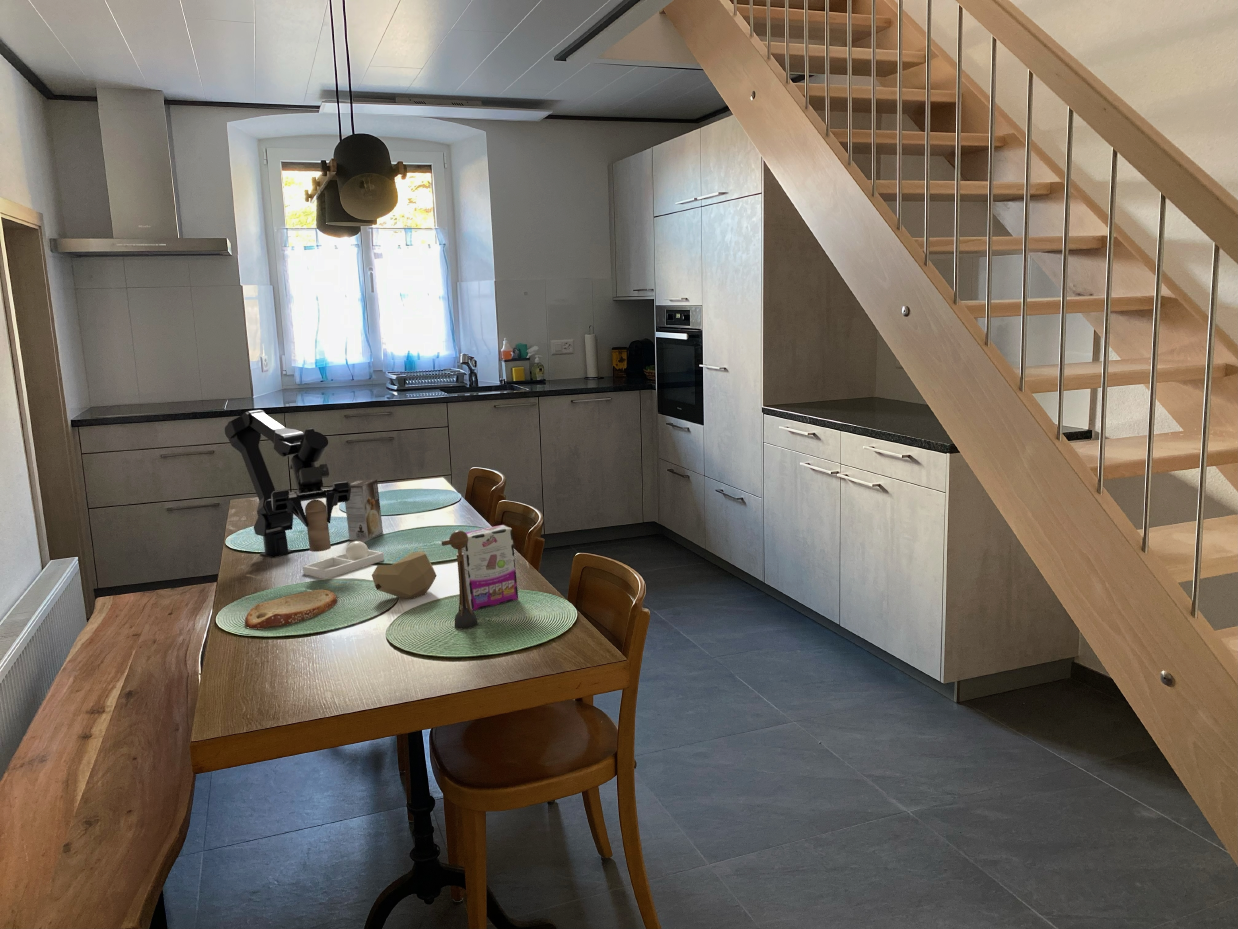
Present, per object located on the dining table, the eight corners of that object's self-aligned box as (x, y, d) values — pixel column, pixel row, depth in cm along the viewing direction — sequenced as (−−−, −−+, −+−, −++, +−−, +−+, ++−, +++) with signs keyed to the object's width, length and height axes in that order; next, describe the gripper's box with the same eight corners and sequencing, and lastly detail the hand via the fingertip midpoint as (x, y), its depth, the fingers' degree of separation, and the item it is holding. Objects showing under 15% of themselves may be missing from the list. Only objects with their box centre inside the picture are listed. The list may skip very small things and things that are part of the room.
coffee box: (363, 532, 267) (357, 479, 264) (383, 532, 266) (378, 478, 263) (348, 540, 258) (342, 485, 255) (369, 540, 257) (363, 485, 254)
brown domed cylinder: (305, 550, 223) (299, 501, 221) (323, 545, 227) (317, 496, 225) (317, 552, 220) (311, 502, 218) (334, 547, 224) (329, 498, 222)
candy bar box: (509, 594, 203) (503, 523, 200) (519, 600, 199) (513, 527, 196) (462, 605, 197) (456, 532, 194) (471, 611, 193) (465, 537, 190)
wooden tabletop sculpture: (453, 631, 181) (444, 535, 178) (446, 625, 185) (437, 531, 182) (481, 625, 184) (473, 530, 180) (473, 619, 188) (465, 526, 184)
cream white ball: (342, 563, 233) (340, 542, 232) (360, 558, 237) (358, 537, 236) (356, 566, 229) (353, 545, 228) (373, 560, 234) (371, 540, 233)
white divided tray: (303, 575, 226) (302, 566, 225) (361, 557, 240) (360, 548, 239) (326, 581, 220) (324, 571, 220) (384, 561, 234) (383, 552, 234)
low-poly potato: (449, 588, 210) (417, 561, 215) (449, 557, 203) (416, 529, 208) (396, 623, 201) (365, 593, 206) (394, 591, 194) (361, 561, 199)
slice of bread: (340, 596, 209) (338, 581, 208) (329, 623, 191) (327, 606, 191) (258, 605, 206) (256, 589, 205) (241, 633, 188) (238, 616, 188)
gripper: (267, 459, 219) (278, 511, 211) (345, 449, 227) (359, 500, 220) (267, 485, 227) (278, 537, 220) (342, 475, 236) (355, 524, 228)
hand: (318, 524), depth 221 cm, fingers closed on brown domed cylinder, 5 cm apart
